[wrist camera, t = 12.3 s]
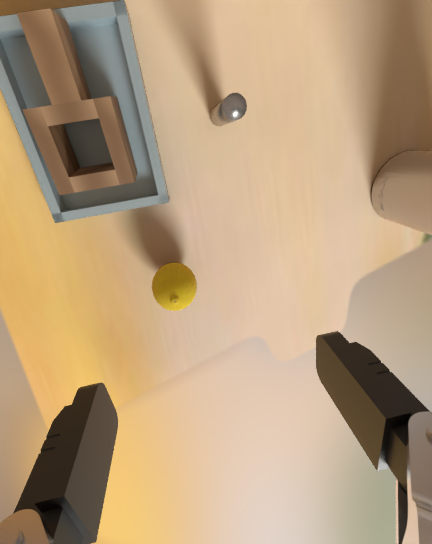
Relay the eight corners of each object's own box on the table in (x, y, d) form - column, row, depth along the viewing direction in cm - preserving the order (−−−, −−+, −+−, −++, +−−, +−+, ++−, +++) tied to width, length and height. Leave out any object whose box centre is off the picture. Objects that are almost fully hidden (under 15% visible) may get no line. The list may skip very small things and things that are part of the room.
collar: (95, 18, 25) (83, 4, 21) (137, 172, 32) (134, 182, 29) (9, 29, 25) (-19, 17, 21) (71, 183, 32) (59, 195, 28)
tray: (128, 12, 27) (124, -1, 25) (169, 198, 35) (169, 202, 33) (-11, 30, 26) (-28, 20, 24) (62, 217, 34) (55, 222, 32)
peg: (226, 104, 32) (245, 91, 23) (228, 124, 32) (247, 118, 24) (208, 107, 31) (221, 94, 23) (211, 127, 32) (225, 121, 24)
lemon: (164, 295, 40) (162, 328, 33) (147, 263, 38) (141, 291, 31) (200, 281, 40) (206, 311, 33) (184, 247, 38) (188, 272, 31)
